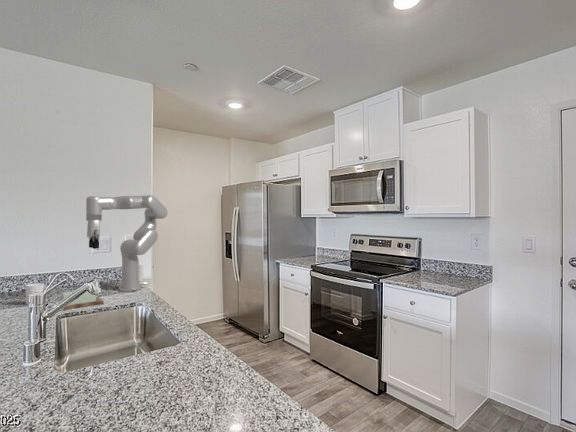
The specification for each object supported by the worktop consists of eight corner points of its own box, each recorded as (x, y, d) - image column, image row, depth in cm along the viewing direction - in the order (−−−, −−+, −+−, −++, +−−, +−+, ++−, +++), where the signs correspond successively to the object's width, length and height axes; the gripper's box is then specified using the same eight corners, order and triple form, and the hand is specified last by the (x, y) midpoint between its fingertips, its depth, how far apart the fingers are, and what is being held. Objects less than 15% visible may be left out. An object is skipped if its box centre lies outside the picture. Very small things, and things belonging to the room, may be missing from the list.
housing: (93, 298, 171) (93, 288, 171) (95, 301, 166) (95, 290, 166) (61, 303, 162) (61, 292, 162) (63, 305, 157) (63, 294, 157)
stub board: (98, 299, 175) (98, 290, 175) (103, 303, 166) (103, 294, 166) (53, 306, 162) (53, 296, 162) (56, 311, 153) (56, 300, 153)
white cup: (35, 305, 165) (35, 285, 165) (21, 305, 165) (21, 286, 165) (47, 301, 173) (47, 283, 173) (33, 301, 173) (33, 283, 173)
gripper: (83, 218, 185) (83, 247, 185) (89, 217, 172) (89, 249, 172) (98, 218, 190) (98, 246, 190) (104, 217, 177) (104, 248, 177)
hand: (93, 248), depth 181 cm, fingers open, 9 cm apart
